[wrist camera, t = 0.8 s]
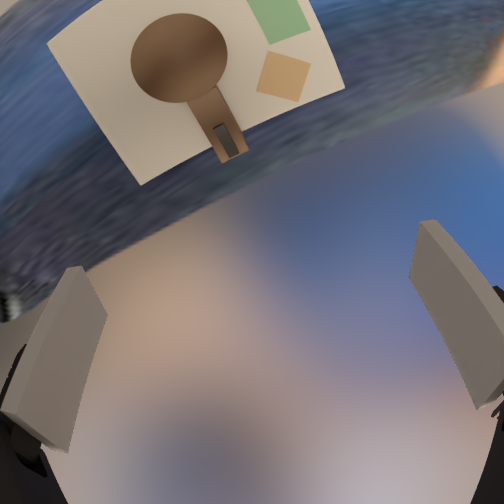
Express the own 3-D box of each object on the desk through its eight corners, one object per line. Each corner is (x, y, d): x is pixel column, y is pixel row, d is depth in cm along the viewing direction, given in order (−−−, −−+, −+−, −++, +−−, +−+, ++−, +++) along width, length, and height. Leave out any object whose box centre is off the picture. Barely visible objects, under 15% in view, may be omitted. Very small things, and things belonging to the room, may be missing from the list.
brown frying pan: (128, 44, 21) (113, 46, 17) (202, 4, 20) (200, -3, 16) (199, 159, 29) (197, 180, 25) (266, 126, 28) (276, 142, 24)
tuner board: (51, 42, 20) (45, 43, 19) (264, -71, 16) (266, -75, 15) (142, 180, 31) (140, 186, 30) (340, 86, 27) (345, 88, 26)
